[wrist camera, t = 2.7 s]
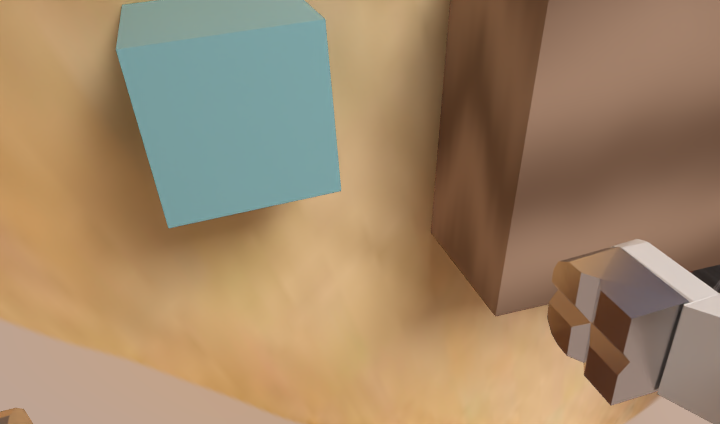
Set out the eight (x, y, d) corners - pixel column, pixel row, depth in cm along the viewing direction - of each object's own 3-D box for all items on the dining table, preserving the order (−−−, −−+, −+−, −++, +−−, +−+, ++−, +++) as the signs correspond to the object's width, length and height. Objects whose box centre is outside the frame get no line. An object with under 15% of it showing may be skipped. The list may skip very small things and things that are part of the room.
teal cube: (122, 4, 17) (115, 49, 13) (285, -17, 18) (325, 19, 14) (163, 153, 20) (168, 228, 16) (303, 126, 21) (341, 191, 17)
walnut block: (452, -67, 19) (556, -43, 15) (729, -77, 23) (890, -58, 18) (428, 229, 26) (495, 316, 21) (648, 190, 29) (750, 257, 24)
